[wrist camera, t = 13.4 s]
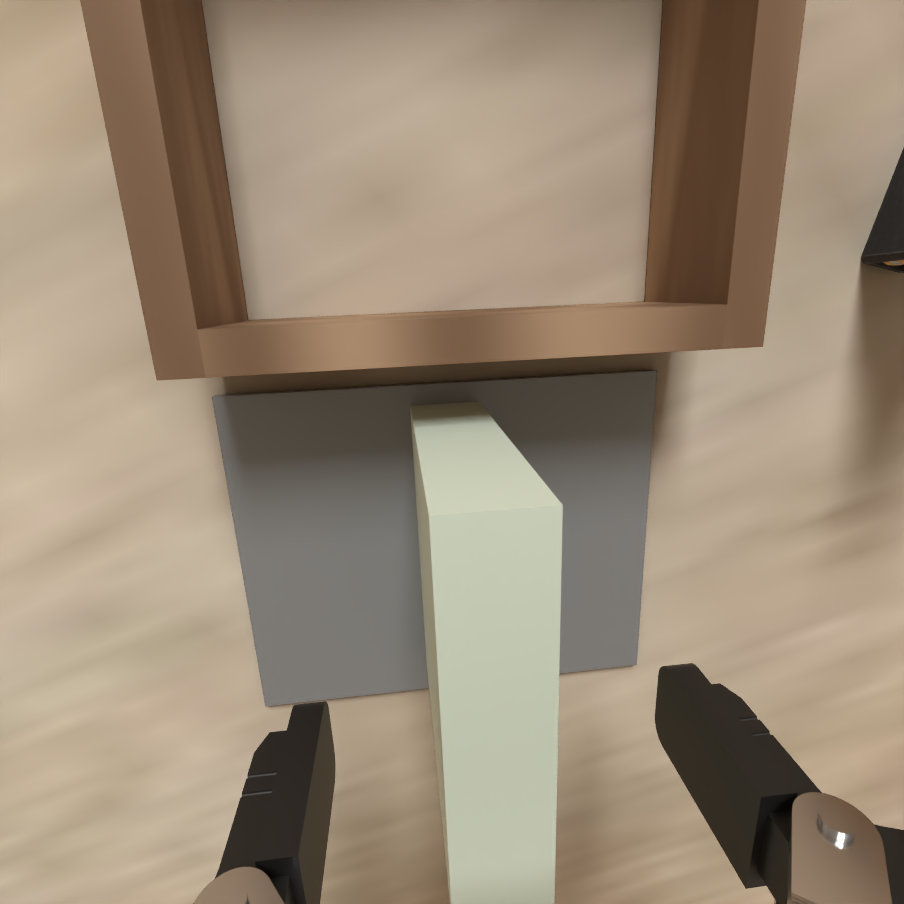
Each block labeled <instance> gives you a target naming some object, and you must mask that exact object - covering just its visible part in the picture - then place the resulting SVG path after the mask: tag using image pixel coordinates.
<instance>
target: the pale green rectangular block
mask: <svg viewBox="0 0 904 904" xmlns="http://www.w3.org/2000/svg"><path fill="white" fill-rule="evenodd" d="M410 411H411V427H412V443H413V458H414V474H415V489H416V505H417V521H418V536H419V552H420V567H421V583H422V599H423V614H424V630H425V646H426V661H427V672H428V683H429V693H430V703H431V714H432V724H433V734H434V745H435V755H436V765H437V776H438V786H439V796H440V807H441V817H442V827H443V838H444V848H445V859H446V869H447V879H448V890H449V900H450V904H554V901H555V853H556V805H557V758H558V710H559V662H560V615H561V567H562V519H563V505H562V503H561V502H560V501H559V500H558V499H557V497H556V496H555V495H554V494H553V492H552V491H551V490H550V489H549V487H548V486H547V485H546V484H545V482H544V481H543V480H542V479H541V478H540V476H539V475H538V474H537V473H536V471H535V470H534V469H533V468H532V466H531V465H530V464H529V463H528V462H527V460H526V459H525V458H524V457H523V455H522V454H521V453H520V452H519V450H518V449H517V448H516V447H515V445H514V444H513V443H512V442H511V441H510V439H509V438H508V437H507V436H506V434H505V433H504V432H503V431H502V429H501V428H500V427H499V426H498V425H497V423H496V422H495V421H494V420H493V418H492V417H491V416H490V415H489V413H488V412H487V411H486V410H485V408H484V407H483V406H482V405H481V404H480V402H479V401H478V402H462V403H446V404H429V405H413V406H410Z"/></svg>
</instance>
